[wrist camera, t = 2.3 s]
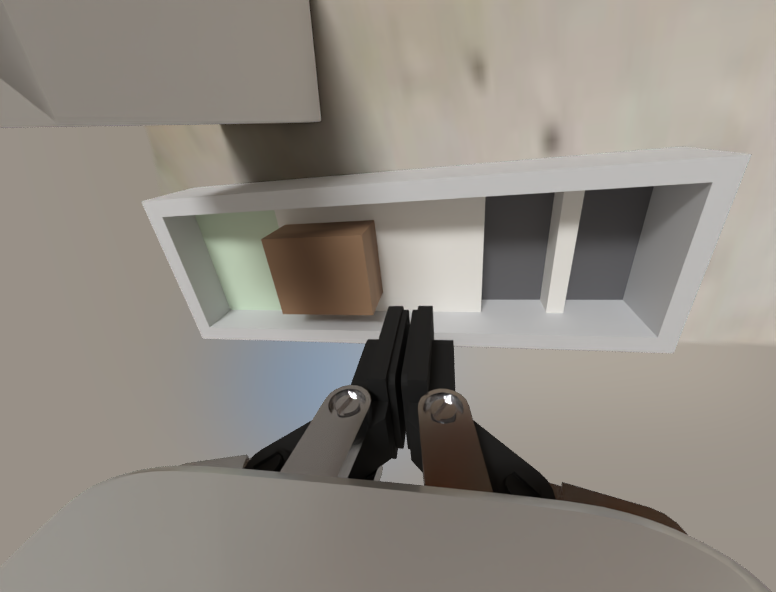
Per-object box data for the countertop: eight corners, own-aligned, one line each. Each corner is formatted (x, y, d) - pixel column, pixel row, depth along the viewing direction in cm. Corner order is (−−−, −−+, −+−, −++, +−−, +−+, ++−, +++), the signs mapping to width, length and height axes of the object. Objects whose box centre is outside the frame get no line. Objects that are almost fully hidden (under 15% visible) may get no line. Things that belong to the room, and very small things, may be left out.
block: (374, 220, 20) (361, 235, 17) (383, 292, 22) (373, 315, 19) (285, 224, 21) (260, 239, 18) (302, 292, 23) (282, 314, 21)
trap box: (683, 146, 17) (751, 154, 13) (634, 310, 21) (673, 353, 17) (194, 187, 23) (141, 201, 19) (238, 307, 28) (202, 338, 24)
